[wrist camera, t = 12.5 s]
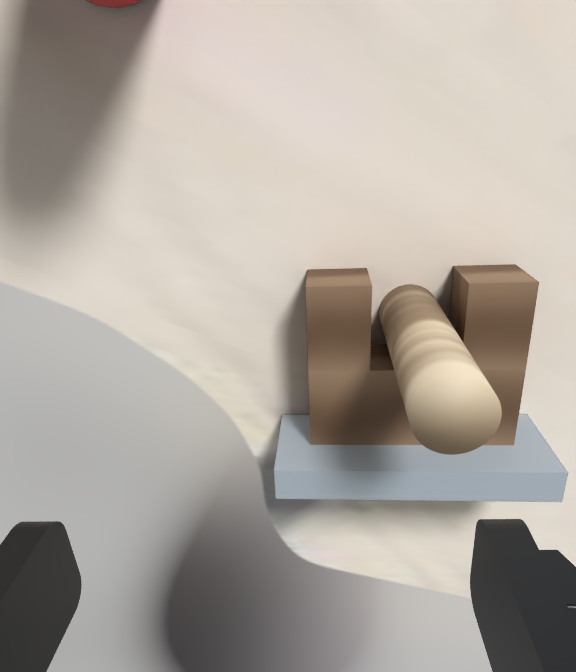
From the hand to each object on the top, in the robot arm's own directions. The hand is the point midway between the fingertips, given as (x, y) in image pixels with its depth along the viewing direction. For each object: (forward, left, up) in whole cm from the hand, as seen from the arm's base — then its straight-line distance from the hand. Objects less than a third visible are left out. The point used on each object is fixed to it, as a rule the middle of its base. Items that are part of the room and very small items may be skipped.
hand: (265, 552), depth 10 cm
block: (+5, +6, -22) cm, 23 cm away
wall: (+11, +6, -22) cm, 25 cm away
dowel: (+3, +6, -22) cm, 23 cm away
